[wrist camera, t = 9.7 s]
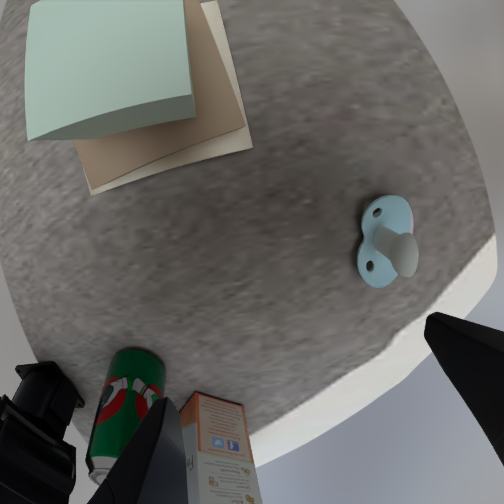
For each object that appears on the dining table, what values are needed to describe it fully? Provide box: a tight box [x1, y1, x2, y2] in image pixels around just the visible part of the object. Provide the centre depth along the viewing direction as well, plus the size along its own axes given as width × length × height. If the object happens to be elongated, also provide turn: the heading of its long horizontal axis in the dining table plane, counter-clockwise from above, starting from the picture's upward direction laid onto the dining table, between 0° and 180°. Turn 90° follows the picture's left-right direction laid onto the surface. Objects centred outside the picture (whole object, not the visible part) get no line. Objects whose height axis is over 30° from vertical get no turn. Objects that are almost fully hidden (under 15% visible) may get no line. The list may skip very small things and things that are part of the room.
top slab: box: [73, 0, 246, 190], centre depth 12 cm, size 8×8×3 cm
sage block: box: [25, 0, 196, 141], centre depth 8 cm, size 5×5×6 cm
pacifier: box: [357, 195, 419, 288], centre depth 19 cm, size 7×6×6 cm
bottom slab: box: [83, 1, 253, 196], centre depth 15 cm, size 10×10×3 cm
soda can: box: [85, 350, 166, 486], centre depth 17 cm, size 5×5×12 cm
